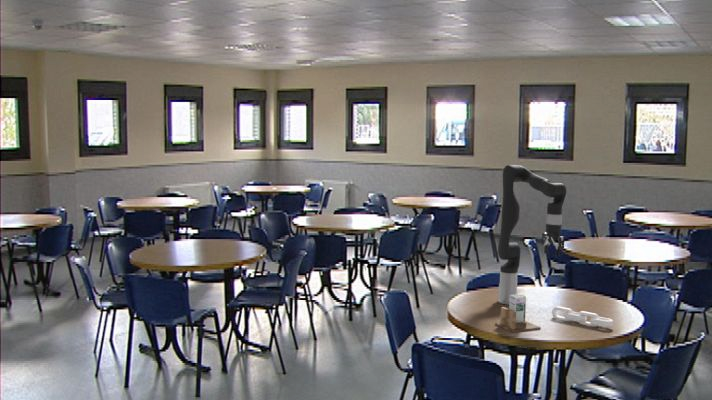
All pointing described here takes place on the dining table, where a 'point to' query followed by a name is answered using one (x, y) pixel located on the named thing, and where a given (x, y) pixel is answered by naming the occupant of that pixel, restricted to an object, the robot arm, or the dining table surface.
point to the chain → (582, 317)
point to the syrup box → (518, 306)
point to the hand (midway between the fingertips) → (552, 255)
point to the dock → (514, 322)
